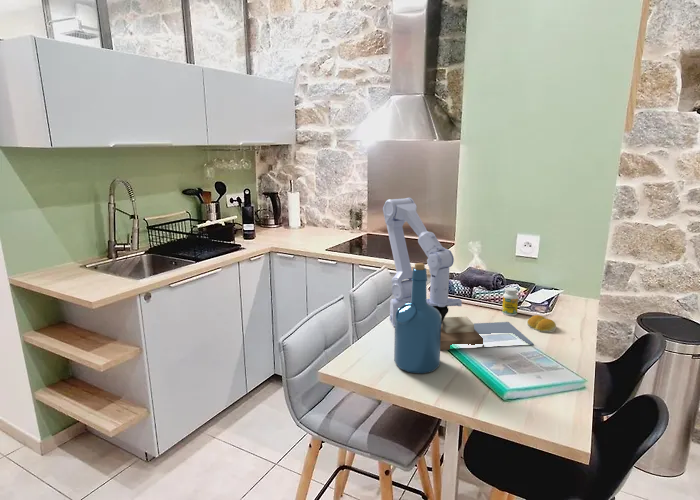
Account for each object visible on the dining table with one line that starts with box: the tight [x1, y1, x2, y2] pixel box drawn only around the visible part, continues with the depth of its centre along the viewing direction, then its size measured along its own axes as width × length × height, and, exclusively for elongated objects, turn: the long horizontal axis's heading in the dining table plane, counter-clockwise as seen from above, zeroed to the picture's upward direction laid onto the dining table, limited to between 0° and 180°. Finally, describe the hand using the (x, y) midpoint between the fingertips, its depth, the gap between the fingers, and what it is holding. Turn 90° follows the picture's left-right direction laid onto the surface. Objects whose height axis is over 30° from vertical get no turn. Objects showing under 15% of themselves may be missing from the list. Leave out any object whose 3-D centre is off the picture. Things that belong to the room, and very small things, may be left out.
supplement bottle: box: [501, 287, 519, 317], centre depth 166 cm, size 5×5×10 cm
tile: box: [441, 316, 474, 333], centre depth 146 cm, size 9×7×2 cm
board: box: [440, 327, 483, 351], centre depth 147 cm, size 14×18×3 cm
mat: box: [472, 321, 535, 346], centre depth 149 cm, size 16×18×1 cm
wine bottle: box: [393, 262, 442, 374], centre depth 126 cm, size 14×13×30 cm
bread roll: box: [526, 314, 557, 333], centre depth 154 cm, size 8×9×4 cm
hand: (437, 327), depth 146 cm, fingers closed
